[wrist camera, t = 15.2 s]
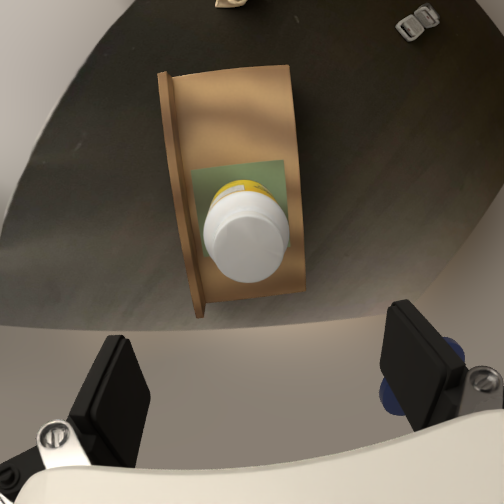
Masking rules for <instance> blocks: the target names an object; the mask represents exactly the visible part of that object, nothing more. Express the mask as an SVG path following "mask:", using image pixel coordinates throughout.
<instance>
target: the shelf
mask: <svg viewBox="0 0 504 504" xmlns="http://www.w3.org/2000/svg"><path fill="white" fill-rule="evenodd" d="M158 84H159V94H160V103H161V112H162V121H163V129H164V137H165V145H166V152H167V159H168V166H169V173H170V180H171V187H172V193H173V199H174V205H175V211H176V217H177V223H178V229H179V235H180V240H181V246H182V251H183V256H184V261H185V267H186V272H187V277H188V282H189V287H190V291H191V296H192V301H193V306H194V310H195V315H196V318H204V312H205V305H206V303H213V302H222V301H231V300H240V299H248V298H257V297H265V296H273V295H281V294H288V293H296V292H303V291H306V274H305V251H304V231H303V214H302V198H301V184H300V171H299V158H298V147H297V136H296V125H295V115H294V105H293V96H292V87H291V78H290V70H289V65H276V66H259V67H247V68H236V69H227V70H218V71H211V72H203V73H197V74H190V75H184V76H178V77H173V78H172V77H171V76H170V75H169V74H168V73H167V72H162V73H158ZM239 179H248V180H253V181H256V182H258V183H260V184H262V185H263V186H265V187H266V188H267V189H268V190H269V191H270V192H271V194H272V195H273V197H274V198H275V200H276V201H277V203H278V204H279V206H280V207H281V209H282V210H283V212H284V214H285V216H286V218H287V221H288V225H289V242H288V246H287V249H286V251H285V253H284V256H283V259H282V262H281V264H280V266H279V267H278V269H277V270H276V271H275V272H274V273H273V274H272V275H271V276H269V277H268V278H266V279H264V280H262V281H259V282H254V283H242V282H237V281H234V280H232V279H230V278H228V277H227V276H225V275H224V274H223V273H222V272H221V271H220V269H219V268H218V267H217V265H216V263H215V262H214V261H213V259H212V258H211V257H210V255H209V253H208V251H207V249H206V247H205V243H204V236H203V231H204V224H205V220H206V217H207V214H208V211H209V208H210V205H211V202H212V200H213V198H214V196H215V194H216V193H217V192H218V190H219V189H220V188H221V187H223V186H224V185H225V184H227V183H229V182H231V181H234V180H239Z"/></svg>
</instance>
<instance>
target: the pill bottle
mask: <svg viewBox="0 0 504 504" xmlns="http://www.w3.org/2000/svg"><path fill="white" fill-rule="evenodd" d="M203 236H204V243H205V247H206V249H207V251H208V253H209V255H210V257H211V258H212V259H213V261H214V262H215V263H216V265H217V267H218V268H219V269H220V271H221V272H222V273H223V274H224V275H225V276H227V277H228V278H230V279H232V280H234V281H237V282H242V283H254V282H259V281H262V280H264V279H266V278H268V277H269V276H271V275H272V274H273V273H274V272H275V271H276V270H277V269H278V267H279V266H280V264H281V262H282V259H283V256H284V253H285V251H286V249H287V246H288V242H289V225H288V221H287V218H286V216H285V214H284V212H283V210H282V209H281V207H280V206H279V204H278V203H277V201H276V200H275V198H274V197H273V195H272V194H271V192H270V191H269V190H268V189H267V188H266V187H265V186H263V185H262V184H260V183H258V182H256V181H253V180H248V179H239V180H234V181H231V182H229V183H227V184H225V185H224V186H223V187H221V188H220V189H219V190H218V192H217V193H216V194H215V196H214V198H213V200H212V202H211V205H210V208H209V211H208V214H207V217H206V220H205V224H204V231H203Z"/></svg>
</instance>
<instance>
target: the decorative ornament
mask: <svg viewBox="0 0 504 504" xmlns="http://www.w3.org/2000/svg"><path fill="white" fill-rule="evenodd" d="M246 1H247V0H216V3H215V7H238V6H242V5H244V4H245V3H246Z"/></svg>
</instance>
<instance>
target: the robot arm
mask: <svg viewBox="0 0 504 504" xmlns="http://www.w3.org/2000/svg"><path fill="white" fill-rule="evenodd" d="M465 365H466V364H465V363H464V361H463V360H462V359H461V358H460V357H459V356H458V354H457V353H456V352H455V351H454V350H453V349H452V347H451V346H450V345H449V344H448V343H447V342H446V341H445V339H444V338H443V337H442V336H441V335H440V334H439V333H438V332H437V330H436V329H435V328H434V327H433V326H432V325H431V324H430V323H429V322H428V320H427V319H425V317H424V316H423V315H422V314H421V313H420V312H419V311H418V310H417V309H416V307H415V306H414V305H413V304H412V303H411V302H410V301H409V300H407V299H405V300H400V301H395V302H393V303H392V304H391V306H390V307H388V309H387V317H386V325H385V332H384V339H383V346H382V352H381V358H380V369H381V372H382V373H383V375H384V377H385V379H386V381H387V383H388V384H389V386H390V388H391V390H392V392H393V393H394V395H395V397H396V399H397V401H398V403H399V404H400V406H401V408H402V410H403V412H404V414H405V415H406V417H407V419H408V421H409V423H410V425H411V427H412V429H413V431H414V433H411V434H407V435H404V436H401V437H398V438H394V439H391V440H388V441H384V442H381V443H377V444H374V445H370V446H366V447H362V448H358V449H354V450H350V451H346V452H342V453H337V454H332V455H327V456H322V457H317V458H312V459H306V460H300V461H294V462H287V463H280V464H272V465H264V466H253V467H242V468H229V469H209V470H162V469H138V468H135V465H136V460H137V456H138V451H139V447H140V442H141V438H142V433H143V429H144V425H145V421H146V416H147V412H148V408H149V404H150V391H149V389H148V386H147V384H146V381H145V379H144V376H143V374H142V371H141V369H140V366H139V364H138V361H137V359H136V356H135V353H134V351H133V348H132V345H131V342H130V340H129V339H125V337H124V336H123V335H109V336H107V338H106V340H105V341H104V343H103V345H102V347H101V349H100V351H99V353H98V355H97V357H96V359H95V361H94V363H93V365H92V367H91V369H90V371H89V373H88V375H87V377H86V379H85V381H84V383H83V385H82V387H81V389H80V392H79V393H78V396H77V398H76V400H75V402H74V404H73V406H72V408H71V411H70V413H69V416H68V418H67V420H66V421H65V420H61V419H57V420H52V421H49V422H47V423H45V424H44V425H43V426H42V427H41V428H40V429H39V431H38V432H37V435H36V443H37V445H36V446H35V447H33V448H31V449H29V450H27V451H25V452H23V453H21V454H20V455H17V456H15V457H13V458H11V459H9V460H8V461H5V462H3V463H2V464H0V504H504V386H503V378H502V377H501V375H500V374H499V373H498V372H497V371H496V370H494V369H493V368H491V367H487V366H476V367H473V368H471V369H470V370H468V368H467V367H466V366H465Z"/></svg>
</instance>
